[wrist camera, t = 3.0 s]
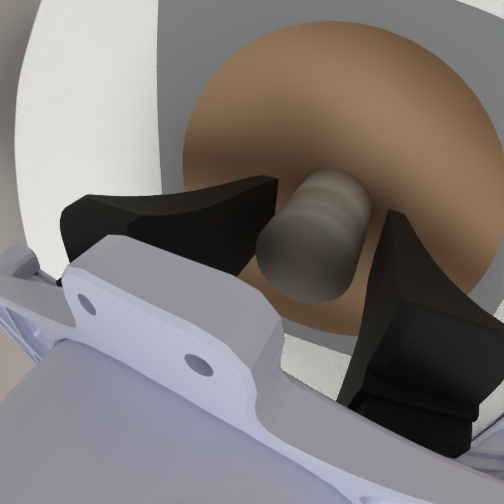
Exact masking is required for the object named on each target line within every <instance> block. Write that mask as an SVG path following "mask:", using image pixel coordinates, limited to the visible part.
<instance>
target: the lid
mask: <svg viewBox="0 0 504 504" xmlns="http://www.w3.org/2000/svg"><path fill="white" fill-rule="evenodd" d="M182 170H183V179H184V188H185V192H189V191H194V190H200V189H204V188H208V187H213V186H217V185H221V184H225V183H229V182H233V181H237V180H241V179H244V178H249V177H253V176H259V175H265V176H270V177H274V178H278V179H279V182H278V191H277V201H276V210H275V216H274V217H273V218H272V219H271V220H270V221H269V223H268V224H267V225H266V226H265V227H264V228H263V230H262V231H261V233H260V234H259V236H258V239H257V242H256V248H255V255H254V257H253V258H252V259H251V260H250V262H249V263H248V264H247V265H246V267H245V268H244V269H243V270H242V271H241V273H240V274H239V275H238V276H237V278H238V279H240V280H242V281H244V282H245V283H247V284H249V285H250V286H252V287H254V288H256V289H257V290H259V291H260V292H261V293H262V294H263V295H264V297H265V298H266V299H267V300H268V302H269V303H270V304H271V305H272V307H273V308H274V309H275V310H276V311H277V313H278V314H279V315H281V316H282V317H284V318H286V319H288V320H290V321H293V322H295V323H298V324H300V325H303V326H306V327H309V328H312V329H315V330H319V331H322V332H327V333H333V334H338V335H347V336H358V335H359V331H360V327H361V321H362V315H363V309H364V303H365V296H366V289H367V282H368V276H369V273H370V269H371V265H372V261H373V257H374V254H375V251H376V248H377V245H378V241H379V238H380V235H381V232H382V229H383V225H384V222H385V219H386V215H387V212H388V209H391V210H394V211H397V212H400V213H403V214H405V215H406V217H407V219H408V220H409V222H410V224H411V226H412V227H413V229H414V231H415V233H416V234H417V236H418V238H419V239H420V241H421V242H422V244H423V246H424V247H425V249H426V250H427V251H428V253H429V254H430V256H431V257H432V258H433V260H434V261H435V262H436V264H437V265H438V266H439V267H440V268H441V270H442V271H443V272H444V273H445V274H446V275H447V276H448V277H449V279H450V280H451V281H452V282H453V283H454V284H455V285H456V286H457V287H458V288H459V289H460V290H461V291H462V292H464V293H465V294H466V295H468V294H469V293H470V292H471V291H472V290H473V289H474V287H475V286H476V285H477V284H478V282H479V281H480V280H481V279H482V277H483V276H484V275H485V273H486V271H487V270H488V268H489V266H490V264H491V263H492V261H493V259H494V257H495V255H496V252H497V250H498V247H499V245H500V242H501V240H502V237H503V232H504V154H503V150H502V146H501V143H500V140H499V138H498V135H497V133H496V130H495V128H494V125H493V123H492V121H491V119H490V117H489V115H488V114H487V112H486V110H485V109H484V107H483V105H482V104H481V102H480V101H479V99H478V97H477V96H476V95H475V93H474V92H473V91H472V90H471V89H470V87H469V86H468V85H467V84H466V83H465V81H464V80H463V79H462V78H461V77H460V76H459V75H458V74H457V73H456V72H455V71H454V70H453V69H452V68H450V67H449V66H448V65H447V64H446V63H445V62H444V61H442V60H441V59H440V58H439V57H438V56H436V55H435V54H433V53H431V52H430V51H428V50H427V49H425V48H424V47H422V46H420V45H419V44H417V43H415V42H414V41H412V40H409V39H407V38H405V37H402V36H400V35H398V34H395V33H393V32H391V31H388V30H385V29H381V28H377V27H373V26H369V25H365V24H361V23H352V22H340V21H324V22H311V23H304V24H299V25H295V26H291V27H287V28H282V29H280V30H277V31H275V32H272V33H270V34H267V35H265V36H263V37H260V38H258V39H257V40H255V41H253V42H252V43H250V44H248V45H247V46H245V47H244V48H242V49H240V50H239V51H238V52H237V53H235V54H234V55H233V56H232V57H231V58H230V59H228V60H227V61H226V62H225V63H224V64H223V65H222V66H221V67H220V68H219V69H218V70H217V72H216V73H215V74H214V75H213V76H212V77H211V79H210V80H209V81H208V83H207V84H206V86H205V88H204V89H203V91H202V92H201V94H200V96H199V97H198V99H197V102H196V104H195V106H194V108H193V111H192V113H191V115H190V119H189V122H188V126H187V129H186V133H185V140H184V146H183V169H182Z"/></svg>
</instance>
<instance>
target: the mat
mask: <svg viewBox="0 0 504 504" xmlns="http://www.w3.org/2000/svg"><path fill="white" fill-rule="evenodd" d="M324 21H340V22H352V23H361V24H365V25H369V26H373V27H377V28H381V29H385V30H388V31H391V32H393V33H395V34H398V35H400V36H402V37H405V38H407V39H409V40H412V41H414V42H415V43H417V44H419V45H420V46H422V47H424V48H425V49H427V50H428V51H430V52H431V53H433V54H435V55H436V56H438V57H439V58H440V59H441V60H442V61H444V62H445V63H446V64H447V65H448V66H449V67H450V68H452V69H453V70H454V71H455V72H456V73H457V74H458V75H459V76H460V77H461V78H462V79H463V80H464V81H465V83H466V84H467V85H468V86H469V87H470V89H471V90H472V91H473V92H474V93H475V95H476V96H477V97H478V99H479V101H480V102H481V104H482V105H483V107H484V109H485V110H486V112H487V114H488V115H489V117H490V119H491V121H492V123H493V125H494V128H495V130H496V133H497V135H498V138H499V140H500V143H501V146H502V150H503V154H504V19H502V18H500V17H497V16H495V15H493V14H490V13H488V12H486V11H483V10H481V9H478V8H475V7H473V6H470V5H467V4H464V3H462V2H459V1H456V0H159V3H158V29H157V103H158V131H159V151H160V167H161V181H162V193H163V195H165V194H175V193H182V192H185V188H184V179H183V170H182V169H183V146H184V140H185V133H186V129H187V126H188V122H189V119H190V115H191V113H192V111H193V108H194V106H195V104H196V102H197V99H198V97H199V96H200V94H201V92H202V91H203V89H204V88H205V86H206V84H207V83H208V81H209V80H210V79H211V77H212V76H213V75H214V74H215V73H216V72H217V70H218V69H219V68H220V67H221V66H222V65H223V64H224V63H225V62H226V61H227V60H228V59H230V58H231V57H232V56H233V55H234V54H235V53H237V52H238V51H239V50H240V49H242V48H244V47H245V46H247V45H248V44H250V43H252V42H253V41H255V40H257V39H258V38H260V37H263V36H265V35H267V34H270V33H272V32H275V31H277V30H280V29H282V28H287V27H291V26H295V25H299V24H304V23H311V22H324ZM467 296H468V297H469V298H470V299H472V300H473V301H474V302H475V303H476V304H478V305H479V306H480V307H481V308H482V309H484V310H485V311H487V312H488V313H489V314H491V315H492V316H493V314H494V313H495V311H496V310H497V308H498V307H499V305H500V303H501V302H502V300H503V299H504V232H503V237H502V240H501V242H500V245H499V247H498V250H497V252H496V255H495V257H494V259H493V261H492V263H491V264H490V266H489V268H488V270H487V271H486V273H485V275H484V276H483V277H482V279H481V280H480V281H479V282H478V284H477V285H476V286H475V287H474V289H473V290H472V291H471V292H470V293H469V294H468V295H467ZM280 316H281V315H280ZM281 321H282V327H283V332H284V333H286V334H289V335H292V336H295V337H297V338H300V339H303V340H306V341H309V342H312V343H315V344H318V345H320V346H323V347H326V348H329V349H332V350H335V351H338V352H341V353H344V354H347V355H350V356H352V355H353V352H354V348H355V345H356V342H357V339H358V336H347V335H338V334H333V333H327V332H322V331H319V330H315V329H312V328H309V327H306V326H303V325H300V324H298V323H295V322H293V321H290V320H288V319H286V318H284V317H282V316H281Z"/></svg>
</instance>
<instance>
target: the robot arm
mask: <svg viewBox="0 0 504 504" xmlns="http://www.w3.org/2000/svg"><path fill="white" fill-rule="evenodd" d="M278 182H279V179H278V178H274V177H270V176H265V175H259V176H253V177H249V178H244V179H241V180H237V181H233V182H229V183H225V184H221V185H217V186H213V187H208V188H204V189H200V190H194V191H189V192H182V193H175V194H165V195H153V196H105V195H91V194H89V195H85V196H84V197H82V198H80V199H79V200H77V201H75V202H74V203H72V204H70V205H69V206H67V207H65V209H64V210H63V211H62V214H61V218H60V231H61V236H62V239H63V243H64V246H65V249H66V252H67V256H68V259H69V262H70V264H69V265H68V266H67V267H66V269H65V270H64V272H63V274H62V277H61V278H60V279H58V280H56V279H54V278H53V277H51V276H50V275H48V274H47V273H45V272H44V271H42V270H41V269H40V265H39V262H38V259H37V257H36V255H35V253H34V252H33V251H32V250H31V249H30V248H29V247H27V246H25V245H24V244H22V243H21V242H16V243H15V244H14V245H12V246H11V247H9V248H8V249H7V250H5V251H4V252H3V253H1V254H0V326H1V327H2V328H3V329H4V330H5V332H6V333H7V334H8V335H9V336H10V337H11V338H12V339H13V340H14V342H15V343H16V344H17V345H18V346H19V347H20V348H21V349H22V350H23V351H24V353H25V354H26V355H27V356H28V357H29V358H30V359H31V360H32V361H33V362H34V363H35V364H36V365H35V366H34V367H33V368H32V369H31V370H30V371H29V372H28V374H27V375H26V376H25V377H24V378H23V379H22V380H21V381H20V382H19V383H18V384H17V385H16V386H15V387H14V388H13V389H12V390H11V391H10V392H9V394H8V395H7V396H6V397H5V398H4V399H3V400H2V401H1V402H0V504H504V417H503V418H501V419H500V420H499V421H498V422H497V423H496V424H494V425H493V426H492V427H491V428H489V429H488V430H487V431H486V432H484V433H483V434H482V435H480V436H479V437H478V438H476V439H475V440H474V441H472V442H471V437H472V422H475V421H476V420H477V419H478V417H479V404H481V403H482V402H483V401H484V400H485V399H486V398H487V397H488V396H489V395H490V394H491V393H492V392H493V391H494V390H495V389H496V388H497V387H498V386H499V385H500V384H501V382H502V381H503V380H504V323H502V322H501V321H499V320H498V319H497V318H495V317H494V316H492V315H491V314H489V313H488V312H487V311H485V310H484V309H482V308H481V307H480V306H479V305H478V304H476V303H475V302H474V301H473V300H472V299H470V298H469V297H468V296H467V295H466V294H465V293H464V292H462V291H461V290H460V289H459V288H458V287H457V286H456V285H455V284H454V283H453V282H452V281H451V280H450V279H449V277H448V276H447V275H446V274H445V273H444V272H443V271H442V270H441V268H440V267H439V266H438V265H437V264H436V262H435V261H434V260H433V258H432V257H431V256H430V254H429V253H428V251H427V250H426V249H425V247H424V246H423V244H422V242H421V241H420V239H419V238H418V236H417V234H416V233H415V231H414V229H413V227H412V226H411V224H410V222H409V220H408V219H407V217H406V215H405V214H403V213H400V212H397V211H394V210H391V209H388V212H387V215H386V219H385V222H384V225H383V229H382V232H381V235H380V238H379V241H378V245H377V248H376V251H375V254H374V257H373V261H372V265H371V269H370V273H369V276H368V282H367V289H366V296H365V303H364V309H363V315H362V321H361V327H360V331H359V335H358V339H357V342H356V345H355V348H354V352H353V355H352V358H351V361H350V364H349V367H348V370H347V373H346V375H345V378H344V381H343V384H342V387H341V389H340V392H339V395H338V397H337V400H336V401H334V400H332V399H330V398H329V397H327V396H325V395H323V394H322V393H320V392H318V391H316V390H315V389H313V388H311V387H310V386H308V385H306V384H305V383H303V382H301V381H300V380H298V379H296V378H295V377H293V376H291V375H290V374H288V373H286V372H285V371H283V370H282V369H281V368H280V359H281V354H282V350H283V345H284V340H285V339H284V333H283V327H282V321H281V316H280V315H279V314H278V313H277V311H276V310H275V309H274V308H273V307H272V305H271V304H270V303H269V302H268V300H267V299H266V298H265V297H264V295H263V294H262V293H261V292H260V291H259V290H257V289H256V288H254V287H252V286H250V285H249V284H247V283H245V282H244V281H242V280H240V279H238V278H237V276H238V275H239V274H240V273H241V271H242V270H243V269H244V268H245V267H246V265H247V264H248V263H249V262H250V260H251V259H252V258H253V257H254V255H255V248H256V242H257V239H258V236H259V234H260V233H261V231H262V230H263V228H264V227H265V226H266V225H267V224H268V223H269V221H270V220H271V219H272V218H273V217H274V216H275V210H276V201H277V191H278Z"/></svg>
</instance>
